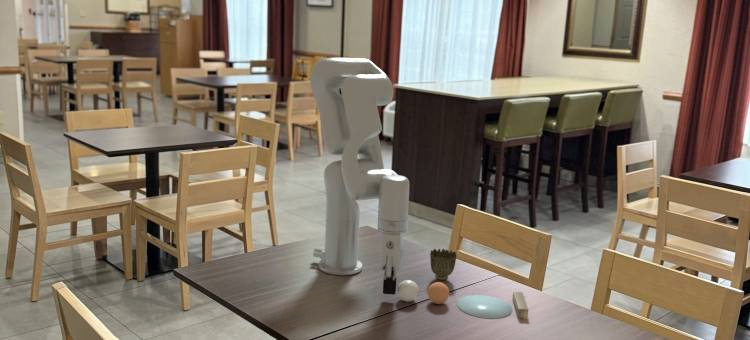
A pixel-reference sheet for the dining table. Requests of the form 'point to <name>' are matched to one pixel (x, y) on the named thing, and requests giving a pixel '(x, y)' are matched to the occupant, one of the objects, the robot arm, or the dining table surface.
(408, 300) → the ivory ball
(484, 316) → the light blue plate
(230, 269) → the dining table surface
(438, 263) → the cup
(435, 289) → the terracotta ball
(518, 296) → the tan bar
